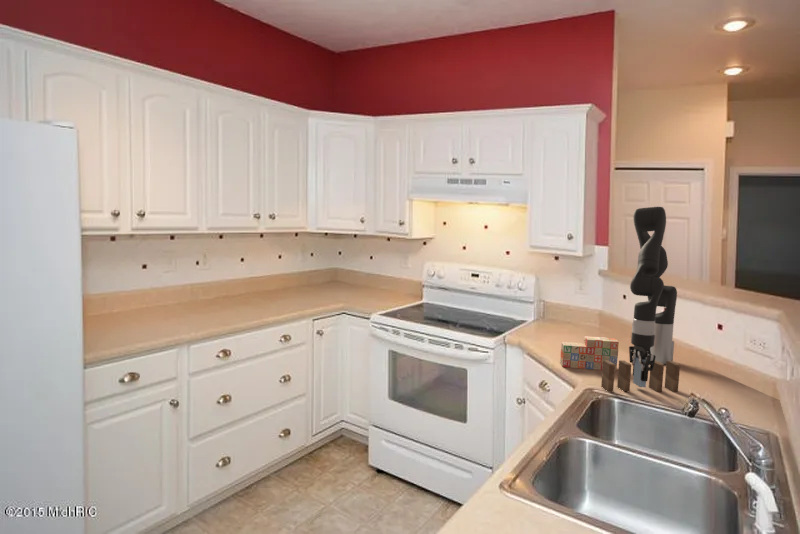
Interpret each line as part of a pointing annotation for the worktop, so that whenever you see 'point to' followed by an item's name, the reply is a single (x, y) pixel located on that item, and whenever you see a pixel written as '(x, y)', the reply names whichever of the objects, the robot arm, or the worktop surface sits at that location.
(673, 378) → the domino
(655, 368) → the domino
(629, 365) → the domino
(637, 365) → the domino
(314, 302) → the worktop surface
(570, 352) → the stack of blocks
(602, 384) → the domino end
